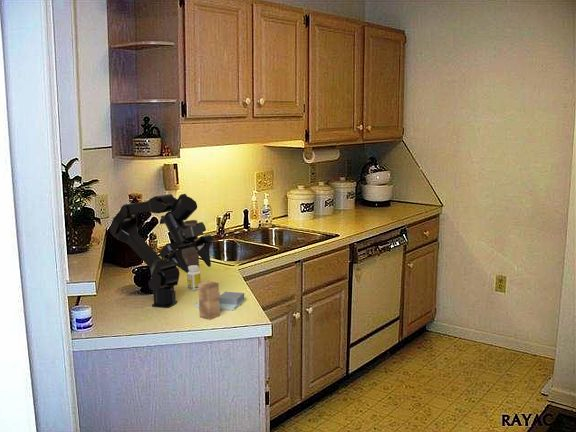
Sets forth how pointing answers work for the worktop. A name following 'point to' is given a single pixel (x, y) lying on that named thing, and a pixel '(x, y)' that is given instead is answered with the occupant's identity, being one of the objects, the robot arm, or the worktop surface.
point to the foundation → (229, 300)
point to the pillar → (209, 300)
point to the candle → (191, 249)
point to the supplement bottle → (193, 277)
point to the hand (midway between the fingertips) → (199, 269)
